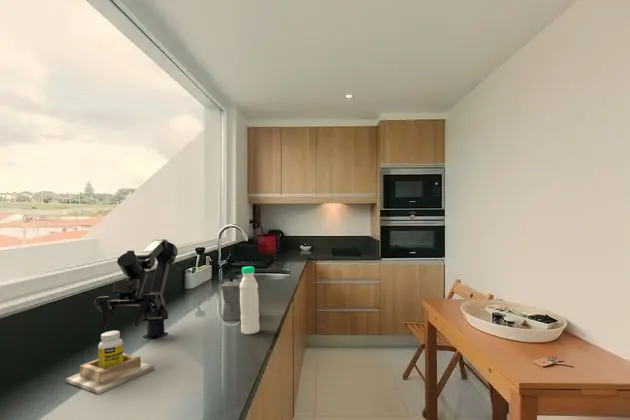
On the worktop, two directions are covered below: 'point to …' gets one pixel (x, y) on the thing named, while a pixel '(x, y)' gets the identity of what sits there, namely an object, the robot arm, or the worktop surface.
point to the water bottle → (249, 302)
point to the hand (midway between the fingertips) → (119, 327)
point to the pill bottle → (110, 349)
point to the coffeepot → (231, 300)
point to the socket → (108, 374)
